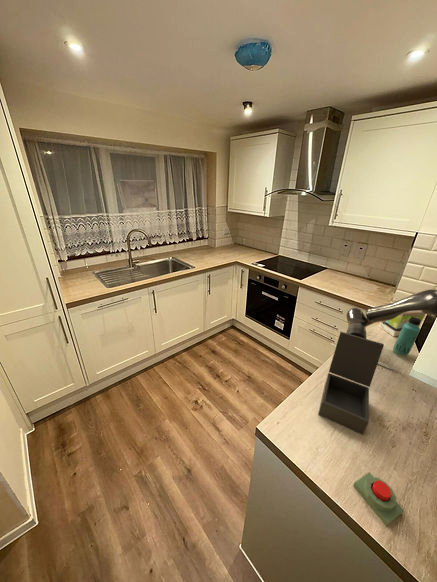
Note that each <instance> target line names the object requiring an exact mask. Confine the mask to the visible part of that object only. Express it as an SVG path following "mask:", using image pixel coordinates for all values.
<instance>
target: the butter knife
mask: <svg viewBox="0 0 437 582" xmlns="http://www.w3.org/2000/svg"><path fill="white" fill-rule="evenodd" d="M330 345H332V346H333V347H335V348H336V345H337V344H336V343H333V342H330ZM377 365H379V366H382V367H384V368H386V369H388V370H392V371H393V370H395V368H394V366H392V365H389V364H387V363H385V362H383V361H380V360H379V361H378V364H377Z"/></svg>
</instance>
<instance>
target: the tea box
mask: <svg viewBox="0 0 437 582" xmlns="http://www.w3.org/2000/svg"><path fill="white" fill-rule="evenodd" d="M425 316H426V314H425V313H424V312H422V311H409V312H405V313H402V314H400V315H399V316H397V317H396V318H394V319H392V320H388V321H383V322H379V326H378V327H379V328H380V329H382V330H383V331H385V332H386V333H387V334H388V335H390V336H392V337H399V335H400V332H401V330H402V328H403V325H404V324H406V323H409V319H410V318H411V317H415V318H418V319H420V320H421V322H420V325H417V326H418V327H419V328H420V326H421V324H422V322H423V320H424V318H425Z"/></svg>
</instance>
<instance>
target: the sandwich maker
mask: <svg viewBox="0 0 437 582" xmlns="http://www.w3.org/2000/svg"><path fill="white" fill-rule="evenodd" d="M369 388H370V387H368V386H365V385H363V384H360V383H357V382H354V381H352V380H349V379H346V378H344V377H341V376H338V375H336V374H333V373H330V372H328V373H327V377H326V380H325V383H324V386H323V391H322V395H321V400H320V405H319V410H318V413H317V415H318V416H319V417H322V418H324V419H326V420H329V421H331V422H333V423H334V424H338V425H340V426H342V427H343V428H346V429H348V430H351V431H353V432H355V433H358V434H359V435H362V436H364V434H365V431H366V429H367V427H368V425H369V423H370V389H369Z"/></svg>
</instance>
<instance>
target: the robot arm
mask: <svg viewBox="0 0 437 582" xmlns="http://www.w3.org/2000/svg"><path fill="white" fill-rule="evenodd" d="M409 311H422V312H424V313H425V315H426V316H428V317H430V318H432V319H434V320H435V319H436V317H437V289H436V288H435V289H433V288H431V289H430V288H429V289H425V290H422V291H418V292H416V293H415V294H412V295H409V296H407V297H404V298H401V299H399V300H395V301H394V302H390V303H386V304H382V305H378V306H374V307H369V308H367V309H366V311H365V313H364V311H363V310H362V309H361V308H359V307H352V308H350V309H348V310H347V312H346V315H345V316H346V321H347V324H348V325H347V329H346V332H345V333H348V334H351V335H355V336H358V337H361V338H365V339H367V327H369V326H371V325H373V324H376V323H381V322H383V321H388V320H392V319H394V318H396V317H397V316H399V315H400V314H402V313H405V312H409Z"/></svg>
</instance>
